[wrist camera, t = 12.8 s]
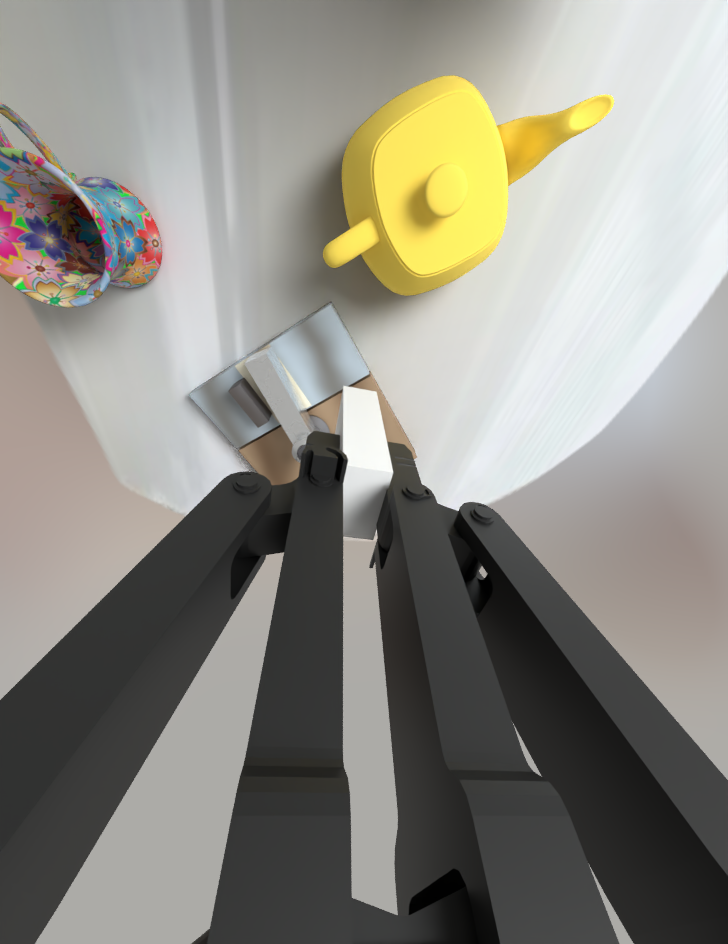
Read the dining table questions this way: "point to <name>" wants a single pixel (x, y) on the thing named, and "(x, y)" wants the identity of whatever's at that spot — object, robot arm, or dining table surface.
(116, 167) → the dining table surface
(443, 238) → the teapot
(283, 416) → the latch bar
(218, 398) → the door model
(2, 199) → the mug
